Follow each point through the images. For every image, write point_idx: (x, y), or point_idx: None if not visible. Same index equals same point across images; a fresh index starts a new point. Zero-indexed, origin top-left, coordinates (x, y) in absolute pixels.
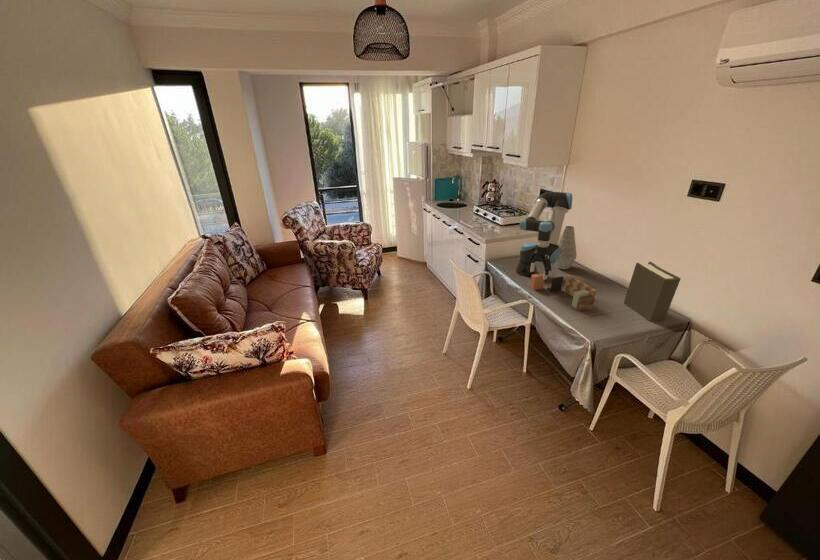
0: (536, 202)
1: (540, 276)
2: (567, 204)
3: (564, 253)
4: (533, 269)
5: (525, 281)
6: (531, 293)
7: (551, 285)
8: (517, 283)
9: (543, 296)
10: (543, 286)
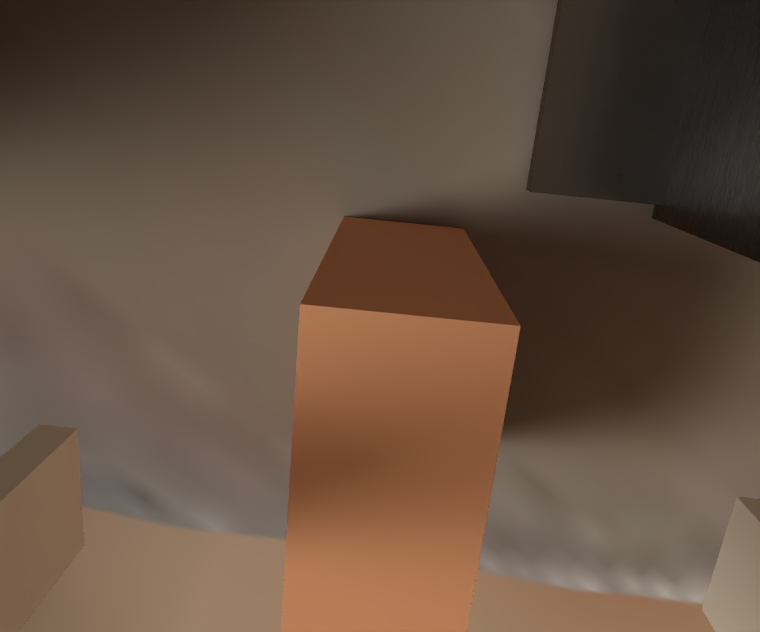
0: None
1: (487, 500)
2: None
3: None
4: (38, 509)
5: (70, 329)
6: (508, 539)
7: (728, 247)
8: (97, 500)
9: (699, 450)
10: (468, 239)
